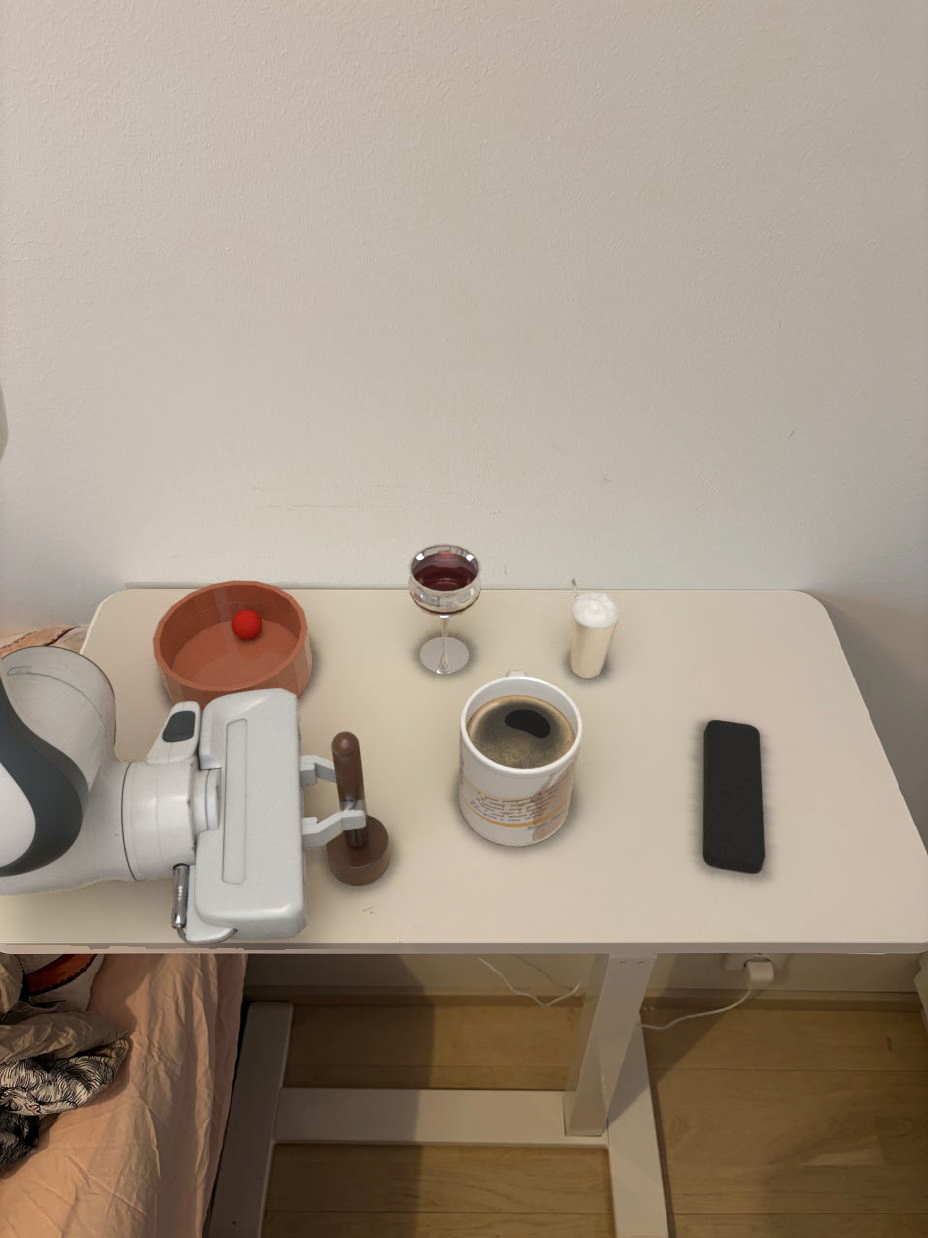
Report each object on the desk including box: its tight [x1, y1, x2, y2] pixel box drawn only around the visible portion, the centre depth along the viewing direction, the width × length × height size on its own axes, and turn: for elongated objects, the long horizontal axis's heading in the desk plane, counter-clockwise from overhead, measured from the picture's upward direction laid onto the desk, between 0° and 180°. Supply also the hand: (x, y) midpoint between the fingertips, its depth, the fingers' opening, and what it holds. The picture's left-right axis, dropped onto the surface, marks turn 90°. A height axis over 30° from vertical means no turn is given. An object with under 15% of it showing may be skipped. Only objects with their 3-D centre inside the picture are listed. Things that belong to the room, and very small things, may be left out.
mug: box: [458, 669, 584, 847], centre depth 79 cm, size 10×12×11 cm
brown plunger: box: [326, 731, 391, 887], centre depth 72 cm, size 5×5×17 cm
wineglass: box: [408, 543, 482, 675], centre depth 90 cm, size 7×7×12 cm
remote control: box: [702, 719, 766, 874], centre depth 82 cm, size 5×2×15 cm
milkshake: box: [569, 578, 621, 680], centre depth 90 cm, size 5×5×10 cm
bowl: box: [152, 579, 313, 712], centre depth 90 cm, size 14×14×6 cm
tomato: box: [231, 610, 262, 639], centre depth 93 cm, size 3×3×3 cm
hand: (363, 794), depth 71 cm, fingers closed on brown plunger
